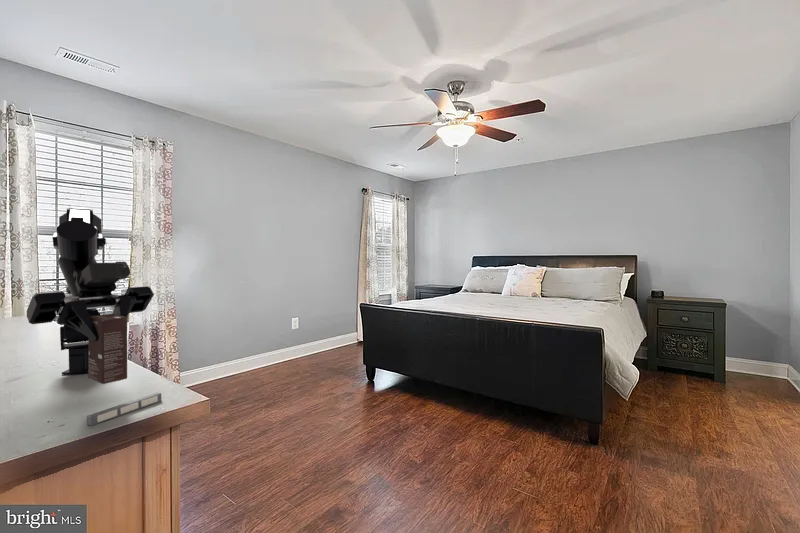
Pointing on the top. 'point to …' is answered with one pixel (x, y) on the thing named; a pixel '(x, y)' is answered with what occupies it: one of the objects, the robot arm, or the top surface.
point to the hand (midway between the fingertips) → (111, 337)
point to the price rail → (123, 409)
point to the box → (108, 349)
